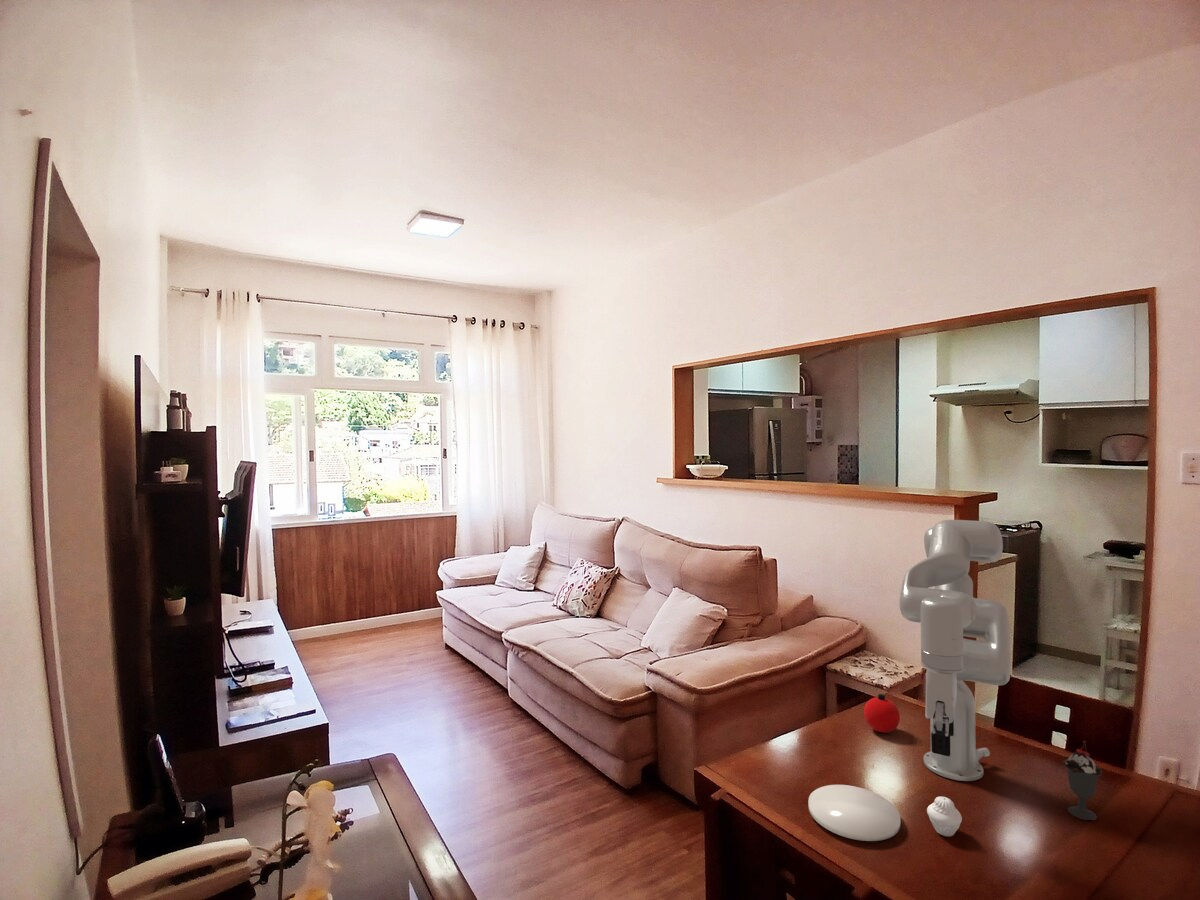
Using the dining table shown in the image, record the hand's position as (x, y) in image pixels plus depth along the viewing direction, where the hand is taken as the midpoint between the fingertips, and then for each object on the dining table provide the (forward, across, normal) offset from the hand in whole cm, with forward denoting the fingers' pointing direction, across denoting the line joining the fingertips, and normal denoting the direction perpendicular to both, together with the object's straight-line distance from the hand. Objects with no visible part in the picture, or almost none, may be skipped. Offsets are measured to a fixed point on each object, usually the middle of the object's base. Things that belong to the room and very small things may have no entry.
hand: (943, 743), depth 124 cm
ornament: (+18, -40, -18) cm, 48 cm away
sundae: (+18, -22, +24) cm, 37 cm away
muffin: (+18, 0, 0) cm, 18 cm away
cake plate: (+18, +4, -16) cm, 25 cm away
